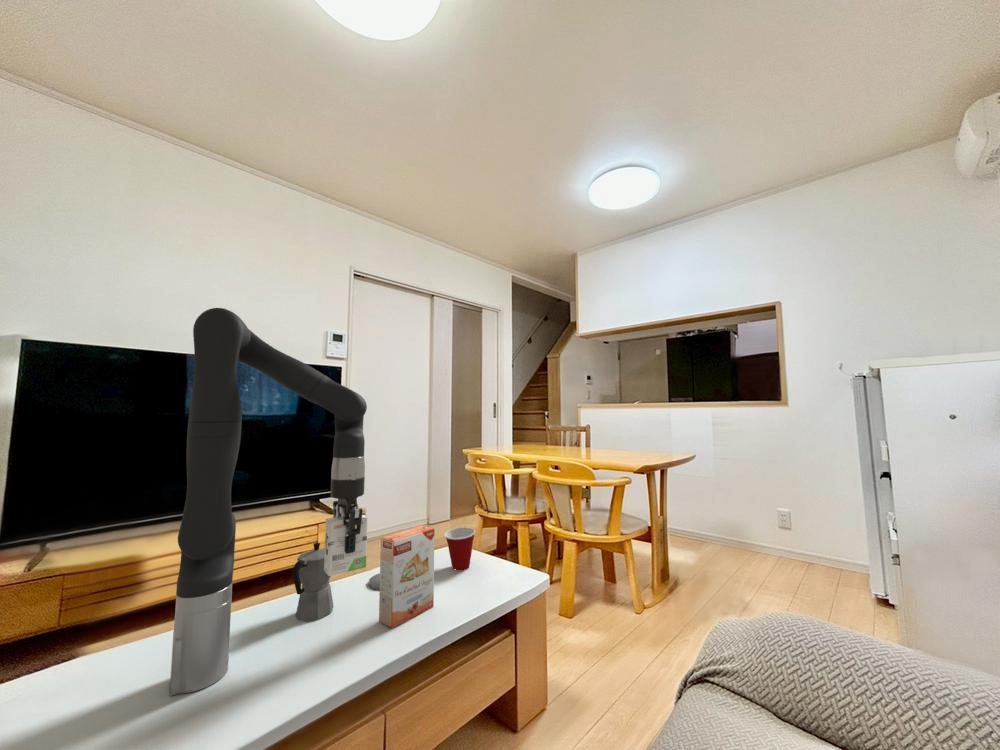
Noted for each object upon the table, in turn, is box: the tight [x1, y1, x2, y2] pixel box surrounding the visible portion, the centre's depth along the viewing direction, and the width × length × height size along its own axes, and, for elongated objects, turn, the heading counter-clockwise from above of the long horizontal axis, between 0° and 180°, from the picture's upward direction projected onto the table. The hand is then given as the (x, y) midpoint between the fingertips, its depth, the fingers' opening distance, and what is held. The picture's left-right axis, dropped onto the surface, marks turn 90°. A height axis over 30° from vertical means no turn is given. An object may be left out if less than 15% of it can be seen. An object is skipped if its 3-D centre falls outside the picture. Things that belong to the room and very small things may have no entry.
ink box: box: [324, 513, 368, 577], centre depth 92 cm, size 9×5×12 cm, turn 126°
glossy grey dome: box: [368, 572, 380, 590], centre depth 122 cm, size 12×12×1 cm
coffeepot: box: [291, 542, 334, 622], centre depth 103 cm, size 15×9×18 cm, turn 169°
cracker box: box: [378, 525, 435, 629], centre depth 103 cm, size 14×6×21 cm, turn 143°
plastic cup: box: [443, 526, 476, 571], centre depth 133 cm, size 11×11×12 cm
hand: (345, 549), depth 91 cm, fingers closed on ink box, 5 cm apart
